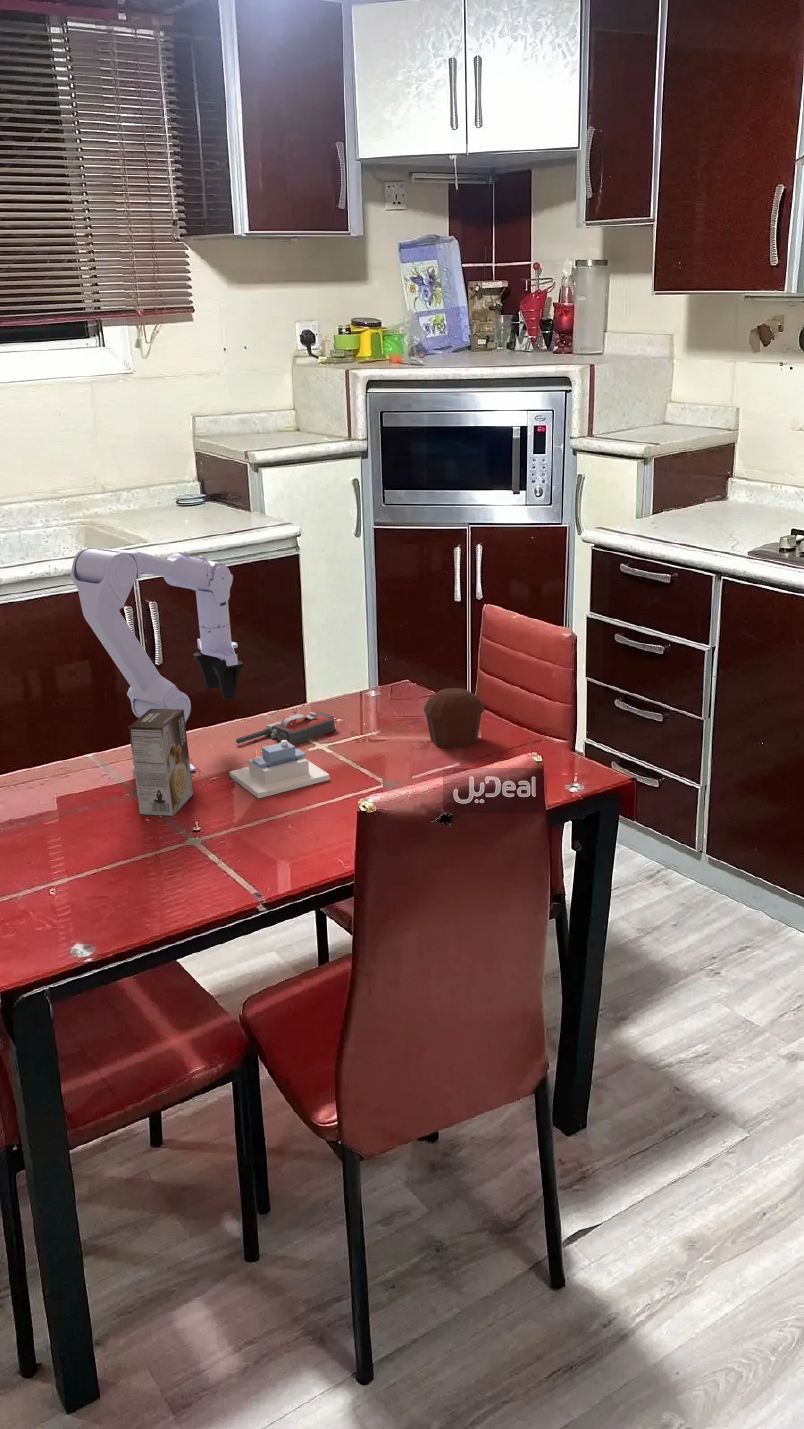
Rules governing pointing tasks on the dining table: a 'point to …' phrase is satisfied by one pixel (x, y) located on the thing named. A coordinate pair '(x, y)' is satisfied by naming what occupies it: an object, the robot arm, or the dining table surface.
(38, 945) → the dining table surface
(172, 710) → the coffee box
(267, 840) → the dining table surface
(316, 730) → the walkie-talkie
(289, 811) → the dining table surface
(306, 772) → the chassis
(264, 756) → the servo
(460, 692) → the muffin
